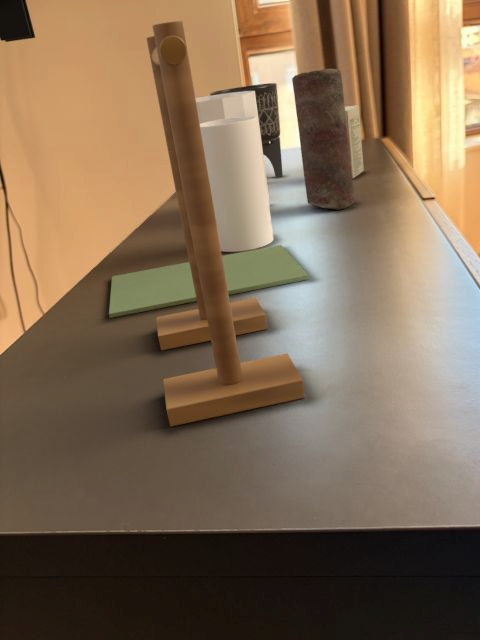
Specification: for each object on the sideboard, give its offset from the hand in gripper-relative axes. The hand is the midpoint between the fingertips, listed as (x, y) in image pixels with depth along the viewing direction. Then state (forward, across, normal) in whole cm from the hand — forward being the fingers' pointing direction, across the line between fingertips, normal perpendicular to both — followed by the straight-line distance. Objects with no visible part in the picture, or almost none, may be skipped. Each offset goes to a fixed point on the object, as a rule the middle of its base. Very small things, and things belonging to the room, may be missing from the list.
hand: (18, 38), depth 60 cm
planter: (+28, +62, -29) cm, 74 cm away
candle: (+28, +29, -36) cm, 54 cm away
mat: (+28, +4, -13) cm, 31 cm away
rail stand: (+28, -20, -12) cm, 36 cm away
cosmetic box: (+28, +51, -45) cm, 74 cm away
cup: (+28, +17, -20) cm, 38 cm away
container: (+28, +39, -21) cm, 52 cm away
